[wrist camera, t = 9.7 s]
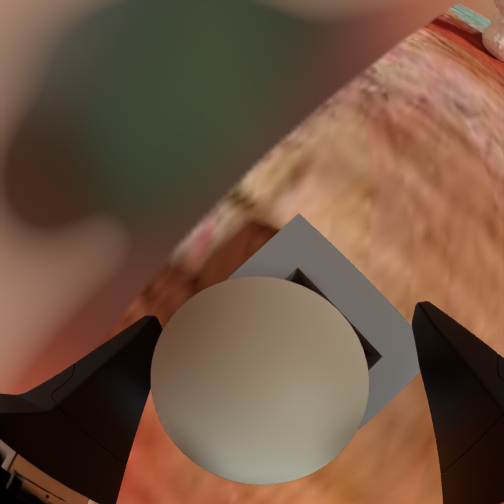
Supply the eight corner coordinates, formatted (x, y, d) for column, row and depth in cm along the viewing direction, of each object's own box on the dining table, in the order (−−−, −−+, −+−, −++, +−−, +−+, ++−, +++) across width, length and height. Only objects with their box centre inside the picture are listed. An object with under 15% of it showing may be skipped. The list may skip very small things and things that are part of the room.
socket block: (288, 455, 14) (279, 483, 10) (189, 341, 18) (158, 341, 14) (410, 350, 14) (435, 353, 11) (303, 239, 18) (298, 213, 14)
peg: (313, 394, 15) (298, 511, 3) (254, 366, 16) (125, 414, 5) (342, 335, 16) (406, 328, 4) (282, 309, 17) (205, 243, 5)
